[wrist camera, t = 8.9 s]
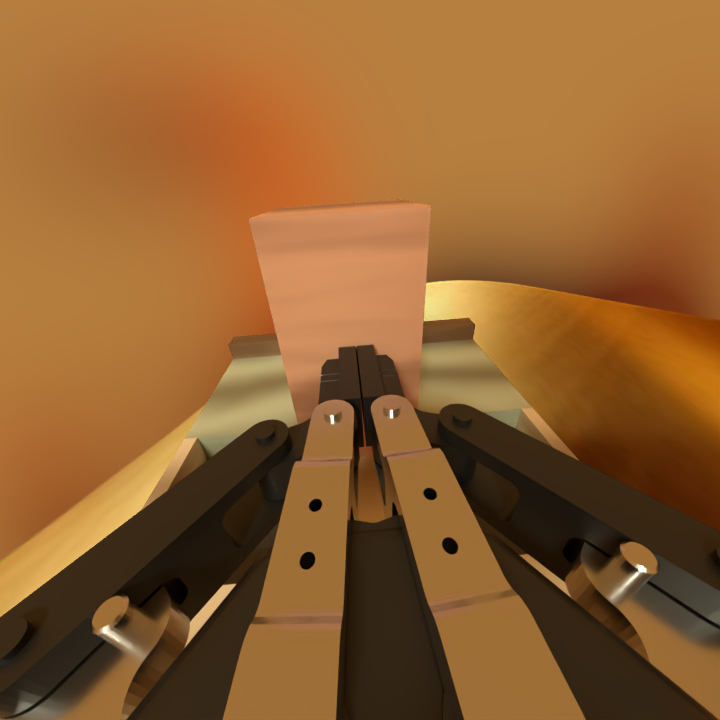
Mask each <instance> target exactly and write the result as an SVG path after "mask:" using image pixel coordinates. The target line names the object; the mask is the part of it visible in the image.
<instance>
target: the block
mask: <svg viewBox="0 0 720 720" xmlns="http://www.w3.org/2000/svg"><path fill="white" fill-rule="evenodd" d="M430 214H431V206H429V205H424V204H419V203H414V202H409V201H404V200H399V199H394V200H379V201H366V202H351V203H337V204H323V205H308V206H294V207H281V208H277V209H275V210H272V211H269V212H267V213H264V214H261V215H258V216H256V217H253V218H250V219H249V222H250V226H251V230H252V234H253V239H254V243H255V247H256V251H257V255H258V260H259V264H260V268H261V272H262V276H263V281H264V285H265V289H266V293H267V297H268V301H269V306H270V310H271V314H272V318H273V322H274V327H275V330H276V335H277V339H278V343H279V347H280V352H281V356H282V360H283V364H284V368H285V373H286V377H287V381H288V385H289V389H290V393H291V398H292V402H293V406H294V410H295V414H296V419H297V423H298V424H300V423H303V422H305V421H307V420H308V419H310V418H311V416H312V413H313V410H314V409H315V408H316V407H317V406H318V403H319V392H320V382H321V381H320V380H321V369H322V366H323V364H324V363H325V362H326V360H328V359H339V351H338V348H339V347H348V346H355V349H356V358H357V346H359V345H371V344H373V346H374V350H375V354H376V355H387V356H389V357H390V358H391V359H392V360H393V362H394V365H395V368H396V371H397V375H398V377H399V380H400V383H401V387H402V390H403V393H404V396H405V398H406V399H407V400H409V401H410V403H411V404H412V406H413V407H414V408H416V409H418V398H419V382H420V367H421V352H422V337H423V321H424V306H425V291H426V275H427V259H428V244H429V229H430ZM357 367H358V360H357ZM358 377H359V374H358ZM361 407H362V404H361ZM362 421H363V414H362ZM363 435H364V447H359V451H360V457H362V456H372V455H373V450H372V446H368V447H366V441H365V432H364V423H363Z"/></svg>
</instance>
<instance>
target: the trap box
mask: <svg viewBox="0 0 720 720" xmlns="http://www.w3.org/2000/svg"><path fill="white" fill-rule="evenodd" d="M474 329H475V324H474V323H473V322H472V321H471V320H470V319H469V318H462V319H450V320H438V321H425V322H423V337H422V352H421V367H420V382H419V398H418V410H420V411H424V412H429V413H436V414H439V413H440V411H441V409H442V408H443V407H445V406H447V405H450V404H465V405H469V406H471V407H474V408H476V409H478V410H480V411H482V412H484V413H486V414H488V415H490V416H492V417H494V418H496V419H498V420H499V421H501V422H503V423H505V424H507V425H509V426H511V427H513V428H515V429H517V430H519V431H521V432H523V433H525V434H527V435H529V436H531V437H533V438H535V439H537V440H539V441H541V442H543V443H545V444H547V445H549V446H551V447H553V448H555V449H557V450H559V451H561V452H563V453H565V454H567V455H569V456H571V457H573V458H575V459H577V458H576V456H575V455H574V454H573V453H572V452H571V451H570V450H569V449H568V447H567V446H566V445H565V444H564V443H563V442H562V441H561V439H560V438H559V437H558V436H557V435H556V434H555V433H554V431H553V430H552V429H551V428H550V427H549V426H548V425H547V423H546V422H545V421H544V420H543V419H542V418H541V417H540V416H539V414H538V413H537V412H536V411H535V410H534V409H533V408H532V406H531V405H530V404H529V403H528V402H527V401H526V400H525V398H524V397H523V396H522V395H521V394H520V393H519V392H518V390H517V389H516V388H515V387H514V386H513V385H512V384H511V382H510V381H509V380H508V379H507V378H506V377H505V376H504V375H503V373H502V372H501V371H500V370H499V369H498V368H497V367H496V365H495V364H494V363H493V362H492V361H491V360H490V359H489V357H488V356H487V355H486V354H485V353H484V352H483V351H482V349H481V348H480V347H479V346H478V345H477V344H476V343H475V341H474V340H473V335H474ZM229 348H230V351H231V353H232V356H233V361H232V363H231V364H230V366H229V367H228V369H227V371H226V372H225V374H224V376H223V377H222V379H221V381H220V382H219V384H218V385H217V387H216V389H215V390H214V392H213V394H212V395H211V397H210V398H209V400H208V402H207V403H206V405H205V407H204V408H203V410H202V412H201V413H200V415H199V416H198V418H197V420H196V421H195V423H194V425H193V426H192V428H191V430H190V431H189V433H188V434H187V436H186V438H185V439H184V441H183V443H182V444H181V446H180V448H179V449H178V451H177V453H176V454H175V456H174V457H173V459H172V461H171V462H170V464H169V466H168V467H167V469H166V471H165V472H164V474H163V475H162V477H161V479H160V480H159V482H158V484H157V485H156V487H155V489H154V490H153V492H152V493H151V495H150V497H149V498H148V500H147V502H146V503H145V505H144V507H143V508H142V509H144V508H145V507H146V506H148V505H149V504H150V503H152V502H153V501H154V500H156V499H157V498H158V497H160V496H161V495H162V494H163V493H165V492H166V491H167V490H169V489H170V488H171V487H173V486H174V485H175V484H177V483H178V482H179V481H181V480H182V479H183V478H185V477H186V476H187V475H188V474H190V473H191V472H192V471H194V470H195V469H196V468H198V467H199V466H200V465H202V464H203V463H204V462H206V461H207V460H208V459H210V458H211V457H212V456H214V455H215V454H216V453H217V452H219V451H220V450H221V449H223V448H224V447H225V446H227V445H228V444H229V443H231V442H232V441H233V440H235V439H236V438H237V437H239V436H240V435H241V434H243V433H244V432H245V431H246V430H248V429H249V428H250V427H252V426H253V425H255V424H257V423H259V422H261V421H265V420H272V419H274V420H280V421H282V422H284V423H285V424H286V425H287V427H288V428H289V427H292V426H294V425H297V424H298V423H297V419H296V414H295V410H294V406H293V402H292V398H291V393H290V389H289V385H288V381H287V377H286V373H285V368H284V364H283V360H282V356H281V352H280V347H279V343H278V339H277V335H276V334H265V335H252V336H241V337H234V338H233V339H232V341H231V342H230V343H229ZM577 460H578V459H577ZM477 463H478V464H480V465H482V466H483V467H485V468H486V469H488V470H489V471H491V472H493V473H494V474H496V475H497V476H499V477H500V478H502V479H504V480H505V481H507V482H508V483H510V484H511V485H513V484H512V483H511V482H509V481H508V480H506V479H505V478H503V477H502V476H500V475H498V474H497V473H495V472H494V471H492V470H491V469H489V468H487V467H486V466H484V465H483V464H481V463H479V462H478V461H477ZM513 486H514V485H513ZM473 514H474V516H475V518H476V520H477V522H478V524H479V526H480V527H482V528H484V529H485V530H487V531H489V532H490V533H492V534H493V535H495V536H496V537H498V538H499V539H500V540H502V541H503V542H504V543H505V544H506V545H508V546H509V547H510V548H511V549H512V550H514V551H515V552H516V553H517V554H519V555H520V556H521V557H522V558H523V559H525V560H526V561H527V562H528V563H529V564H531V565H532V566H533V567H534V568H536V569H537V570H538V571H539V572H540V573H542V574H543V575H544V576H545V577H546V578H548V579H549V580H550V581H551V582H553V583H554V584H555V585H556V586H557V587H559V588H560V589H561V590H562V591H563V592H565V593H566V594H567V595H568V596H570V594H569V592H568V590H567V586H566V583H565V582H564V581H562V580H561V579H560V578H558V577H557V576H556V575H554V574H553V573H552V572H550V571H549V570H548V569H547V568H545V567H544V566H543V565H541V564H540V563H539V562H537V561H536V560H535V559H534V558H532V557H531V556H530V555H528V554H527V553H526V552H524V551H523V550H522V549H520V548H519V547H518V546H517V545H515V544H514V543H513V542H511V541H510V540H509V539H507V538H506V537H505V536H504V535H502V534H501V533H500V532H498V531H497V530H496V529H494V528H493V527H492V526H490V525H489V524H488V523H487V522H485V521H484V520H483V519H481V518H480V517H479V516H477V515H476V514H475V513H473ZM358 518H359V521H364V522H370V523H376V522H379V521H382V520H385V515H384V510H383V506H382V501H381V497H380V492H379V488H378V483H377V478H376V474H375V469H374V464H373V455H372V456H362V457H360V460H359V510H358ZM279 522H280V521H279ZM279 522H278V523H277V524H276V526H275V527H274V528H273V529H272V530H271V531H270V532H269V533H268V535H267V536H266V537H265V538H264V539H263V540H262V541H261V542H260V544H259V545H258V546H257V547H256V548H255V549H254V550H253V552H252V553H251V554H250V555H249V556H248V557H247V558H246V559H245V561H244V562H243V563H242V564H241V565H240V566H239V567H238V568H237V570H236V571H235V572H234V573H233V574H232V575H231V576H230V578H229V579H228V580H227V581H226V582H225V583H224V584H223V585H222V587H221V588H220V589H219V590H218V591H217V592H216V593H215V594H214V596H213V597H212V598H211V599H210V600H209V601H208V602H207V604H206V605H205V606H204V607H203V608H202V609H201V610H200V611H199V613H198V614H197V615H196V616H195V617H194V618H193V619H192V620H191V622H190V630H189V636H188V639H187V642H186V645H187V644H188V643H189V642H190V641H191V639H192V638H193V637H194V636H195V634H196V633H197V632H198V631H199V629H200V628H201V627H202V626H203V625H204V623H205V622H206V621H207V620H208V618H209V617H210V616H211V615H212V613H213V612H214V611H215V610H216V609H217V607H218V606H219V605H220V604H221V602H222V601H223V600H224V599H225V597H226V596H227V595H228V594H229V593H230V591H231V590H232V589H233V588H234V586H235V585H236V584H237V583H238V581H239V580H240V579H241V578H242V577H243V575H244V574H245V573H246V572H247V570H248V569H249V568H250V567H251V566H252V564H253V563H254V562H255V561H256V560H257V559H258V558H259V557H260V556H261V555H262V554H263V553H264V552H266V551H267V550H268V549H269V548H270V547H272V546H273V545H274V542H275V538H276V534H277V530H278V526H279ZM186 645H185V647H186Z"/></svg>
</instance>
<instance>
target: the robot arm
mask: <svg viewBox="0 0 720 720" xmlns="http://www.w3.org/2000/svg"><path fill="white" fill-rule="evenodd" d="M338 351H339V359H328V360H326V362H325V363H324V364H323V366H322V369H321V380H320V381H321V382H320V392H319V403H318V406H317V407H316V408H315V409H314V410H313V413H312V416H311V418H310V419H308V420H307V421H305V422H303V423H300V424H297V425H294V426H292V427H289V428H288V427H287V425H286V424H285V423H284V422H282V421H280V420H274V419H272V420H265V421H261V422H259V423H257V424H255V425H253V426H252V427H250V428H249V429H248V430H246V431H245V432H244V433H243V434H241V435H240V436H239V437H237V438H236V439H235V440H233V441H232V442H231V443H229V444H228V445H227V446H225V447H224V448H223V449H221V450H220V451H219V452H217V453H216V454H215V455H214V456H212V457H211V458H210V459H208V460H207V461H206V462H204V463H203V464H202V465H200V466H199V467H198V468H196V469H195V470H194V471H192V472H191V473H190V474H188V475H187V476H186V477H185V478H183V479H182V480H181V481H179V482H178V483H177V484H175V485H174V486H173V487H171V488H170V489H169V490H167V491H166V492H165V493H163V494H162V495H161V496H160V497H158V498H157V499H156V500H154V501H153V502H152V503H150V504H149V505H148V506H146V507H145V508H144V509H142V510H141V511H140V512H138V513H137V514H136V515H134V516H133V517H132V518H131V519H129V520H128V521H127V522H125V523H124V524H123V525H121V526H120V527H119V528H117V529H116V530H115V531H113V532H112V533H111V534H109V535H108V536H107V537H105V538H104V539H103V540H102V541H100V542H99V543H98V544H96V545H95V546H94V547H92V548H91V549H90V550H88V551H87V552H86V553H84V554H83V555H82V556H80V557H79V558H78V559H76V560H75V561H74V562H73V563H71V564H70V565H69V566H67V567H66V568H65V569H63V570H62V571H61V572H59V573H58V574H57V575H55V576H54V577H53V578H51V579H50V580H49V581H47V582H46V583H45V584H44V585H42V586H41V587H40V588H38V589H37V590H36V591H34V592H33V593H32V594H30V595H29V596H28V597H26V598H25V599H24V600H22V601H21V602H20V603H19V604H17V605H16V606H15V607H13V608H12V609H11V610H9V611H8V612H7V613H5V614H4V615H3V616H1V617H0V720H720V532H719V531H717V530H716V529H714V528H712V527H710V526H708V525H706V524H704V523H702V522H700V521H698V520H696V519H694V518H692V517H690V516H688V515H686V514H684V513H682V512H680V511H678V510H676V509H674V508H672V507H670V506H668V505H666V504H664V503H662V502H660V501H658V500H656V499H654V498H652V497H650V496H648V495H646V494H644V493H642V492H640V491H638V490H636V489H634V488H632V487H630V486H628V485H626V484H624V483H622V482H620V481H618V480H616V479H614V478H612V477H610V476H608V475H607V474H605V473H603V472H601V471H599V470H597V469H595V468H593V467H591V466H589V465H587V464H585V463H583V462H581V461H579V460H577V459H575V458H573V457H571V456H569V455H567V454H565V453H563V452H561V451H559V450H557V449H555V448H553V447H551V446H549V445H547V444H545V443H543V442H541V441H539V440H537V439H535V438H533V437H531V436H529V435H527V434H525V433H523V432H521V431H519V430H517V429H515V428H513V427H511V426H509V425H507V424H505V423H503V422H501V421H499V420H498V419H496V418H494V417H492V416H490V415H488V414H486V413H484V412H482V411H480V410H478V409H476V408H474V407H471V406H469V405H465V404H450V405H447V406H445V407H443V408H442V409H441V411H440V413H439V414H436V413H429V412H424V411H420V410H418V409H416V408H414V407H413V406H412V404H411V403H410V401H409V400H407V399H406V398H405V396H404V393H403V390H402V387H401V383H400V380H399V377H398V375H397V371H396V368H395V365H394V362H393V360H392V359H391V358H390V357H389V356H387V355H376V354H375V350H374V346H373V344H371V345H359V346H357V358H356V349H355V346H348V347H339V348H338ZM357 360H358V367H357ZM358 374H359V377H358ZM361 404H362V407H361ZM362 414H363V421H362ZM363 423H364V432H365V441H366V447H368V446H372V450H373V464H374V469H375V474H376V478H377V483H378V488H379V492H380V497H381V501H382V506H383V510H384V515H385V520H382V521H379V522H376V523H370V522H364V521H359V518H358V510H359V460H360V451H359V447H364V435H363ZM477 461H478V462H479V463H481V464H483V465H484V466H486V467H487V468H489V469H491V470H492V471H494V472H495V473H497V474H498V475H500V476H502V477H503V478H505V479H506V480H508V481H509V482H511V483H512V484H513V485H514V486H513V485H511V484H510V483H508V482H507V481H505V480H504V479H502V478H500V477H499V476H497V475H496V474H494V473H493V472H491V471H489V470H488V469H486V468H485V467H483V466H482V465H480V464H478V463H477ZM473 513H475V514H476V515H477V516H479V517H480V518H481V519H483V520H484V521H485V522H487V523H488V524H489V525H490V526H492V527H493V528H494V529H496V530H497V531H498V532H500V533H501V534H502V535H504V536H505V537H506V538H507V539H509V540H510V541H511V542H513V543H514V544H515V545H517V546H518V547H519V548H520V549H522V550H523V551H524V552H526V553H527V554H528V555H530V556H531V557H532V558H534V559H535V560H536V561H537V562H539V563H540V564H541V565H543V566H544V567H545V568H547V569H548V570H549V571H550V572H552V573H553V574H554V575H556V576H557V577H558V578H560V579H561V580H562V581H564V582H565V583H566V586H567V590H568V592H569V594H570V596H568V595H567V594H566V593H565V592H563V591H562V590H561V589H560V588H559V587H557V586H556V585H555V584H554V583H553V582H551V581H550V580H549V579H548V578H546V577H545V576H544V575H543V574H542V573H540V572H539V571H538V570H537V569H536V568H534V567H533V566H532V565H531V564H529V563H528V562H527V561H526V560H525V559H523V558H522V557H521V556H520V555H519V554H517V553H516V552H515V551H514V550H512V549H511V548H510V547H509V546H508V545H506V544H505V543H504V542H503V541H502V540H500V539H499V538H498V537H496V536H495V535H493V534H492V533H490V532H489V531H487V530H485V529H484V528H482V527H480V526H479V524H478V522H477V520H476V518H475V516H474V514H473ZM279 521H280V522H279ZM278 522H279V526H278V530H277V534H276V538H275V542H274V545H273V546H272V547H270V548H269V549H268V550H267V551H266V552H264V553H263V554H262V555H261V556H260V557H259V558H258V559H257V560H256V561H255V562H254V563H253V564H252V566H251V567H250V568H249V569H248V570H247V572H246V573H245V574H244V575H243V577H242V578H241V579H240V580H239V581H238V583H237V584H236V585H235V586H234V588H233V589H232V590H231V591H230V593H229V594H228V595H227V596H226V597H225V599H224V600H223V601H222V602H221V604H220V605H219V606H218V607H217V609H216V610H215V611H214V612H213V613H212V615H211V616H210V617H209V618H208V620H207V621H206V622H205V623H204V625H203V626H202V627H201V628H200V629H199V631H198V632H197V633H196V634H195V636H194V637H193V638H192V639H191V641H190V642H189V643H188V644H187V645H186V642H187V639H188V636H189V630H190V622H191V620H192V619H193V618H194V617H195V616H196V615H197V614H198V613H199V611H200V610H201V609H202V608H203V607H204V606H205V605H206V604H207V602H208V601H209V600H210V599H211V598H212V597H213V596H214V594H215V593H216V592H217V591H218V590H219V589H220V588H221V587H222V585H223V584H224V583H225V582H226V581H227V580H228V579H229V578H230V576H231V575H232V574H233V573H234V572H235V571H236V570H237V568H238V567H239V566H240V565H241V564H242V563H243V562H244V561H245V559H246V558H247V557H248V556H249V555H250V554H251V553H252V552H253V550H254V549H255V548H256V547H257V546H258V545H259V544H260V542H261V541H262V540H263V539H264V538H265V537H266V536H267V535H268V533H269V532H270V531H271V530H272V529H273V528H274V527H275V526H276V524H277V523H278ZM185 645H186V647H185Z"/></svg>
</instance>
